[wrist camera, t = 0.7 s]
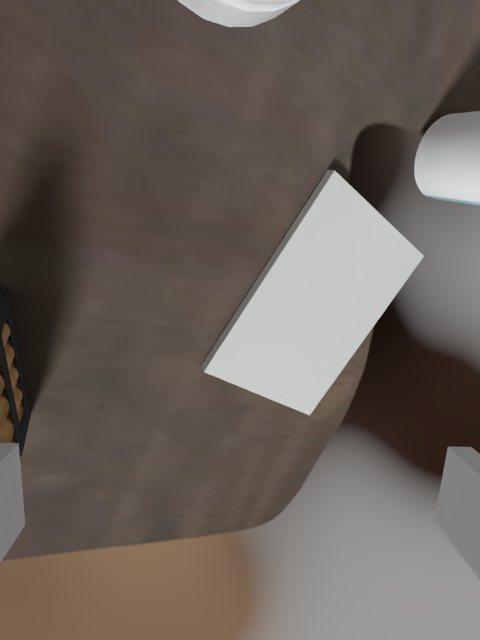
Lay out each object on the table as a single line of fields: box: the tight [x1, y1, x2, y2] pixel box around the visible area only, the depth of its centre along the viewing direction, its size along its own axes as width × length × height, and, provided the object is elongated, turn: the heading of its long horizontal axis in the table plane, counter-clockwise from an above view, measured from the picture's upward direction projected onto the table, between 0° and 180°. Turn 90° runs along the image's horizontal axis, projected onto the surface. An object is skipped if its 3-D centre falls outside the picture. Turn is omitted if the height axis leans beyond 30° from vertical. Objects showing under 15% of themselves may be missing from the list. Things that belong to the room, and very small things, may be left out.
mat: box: [201, 170, 424, 415], centre depth 35 cm, size 20×14×1 cm
